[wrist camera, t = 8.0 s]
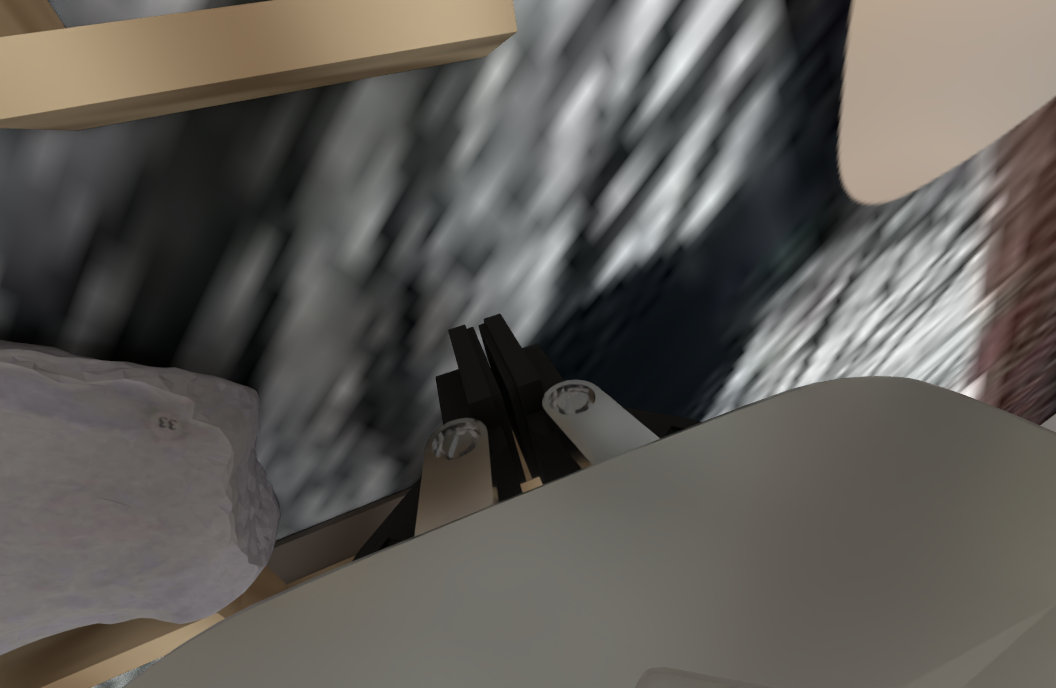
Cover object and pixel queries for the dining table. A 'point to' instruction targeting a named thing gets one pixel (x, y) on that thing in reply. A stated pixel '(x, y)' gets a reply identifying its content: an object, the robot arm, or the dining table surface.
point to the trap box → (191, 83)
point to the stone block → (124, 493)
